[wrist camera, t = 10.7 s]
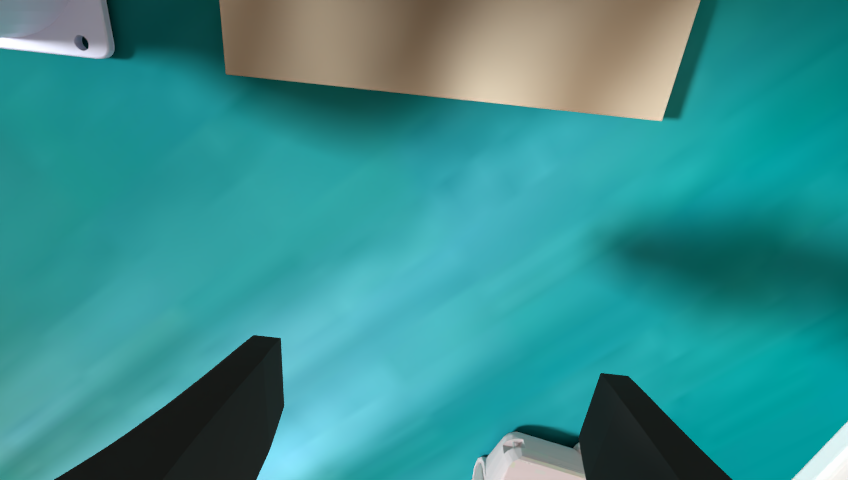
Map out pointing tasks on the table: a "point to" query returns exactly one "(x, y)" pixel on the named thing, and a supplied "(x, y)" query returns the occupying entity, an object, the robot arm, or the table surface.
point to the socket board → (471, 49)
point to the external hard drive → (829, 460)
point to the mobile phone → (530, 460)
